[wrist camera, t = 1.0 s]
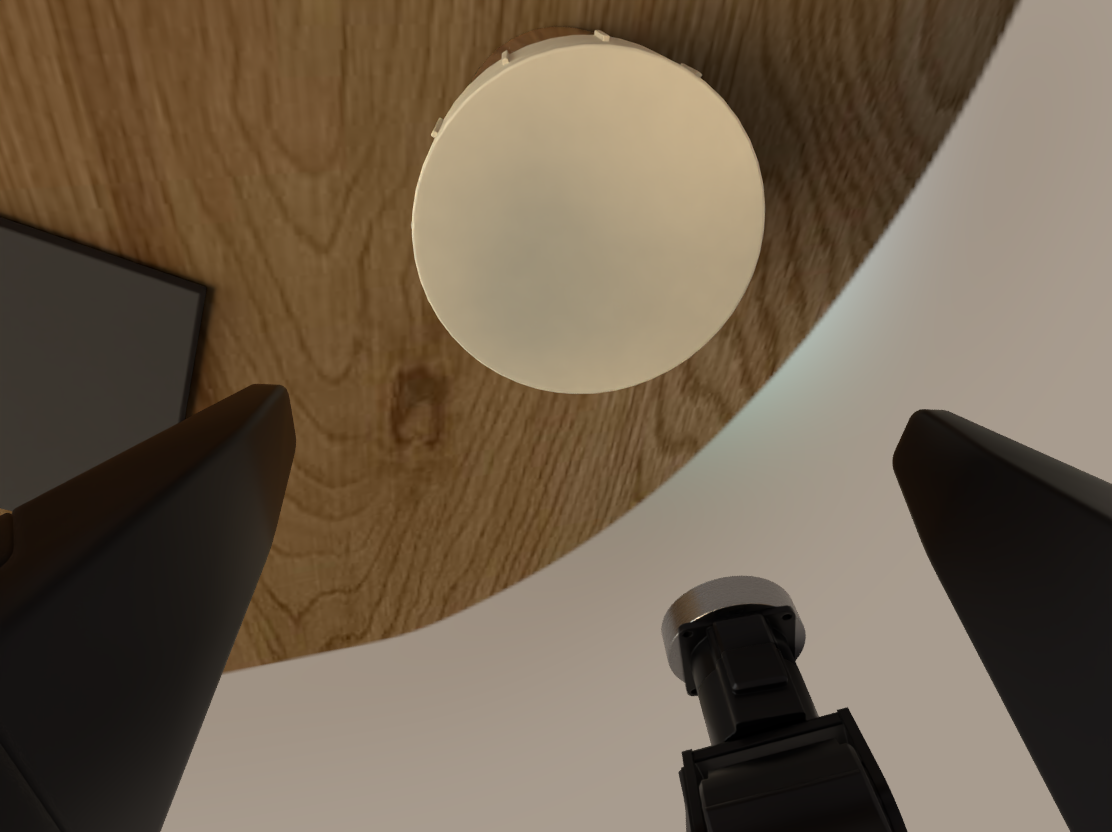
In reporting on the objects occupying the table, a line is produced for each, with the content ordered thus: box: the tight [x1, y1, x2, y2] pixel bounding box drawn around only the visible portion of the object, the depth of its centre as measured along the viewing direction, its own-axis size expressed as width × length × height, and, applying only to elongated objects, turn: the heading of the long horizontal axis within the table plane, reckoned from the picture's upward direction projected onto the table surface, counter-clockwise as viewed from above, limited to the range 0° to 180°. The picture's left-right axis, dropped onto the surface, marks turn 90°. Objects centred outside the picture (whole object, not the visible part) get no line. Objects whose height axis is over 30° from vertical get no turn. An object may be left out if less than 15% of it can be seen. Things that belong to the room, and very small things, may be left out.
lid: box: [411, 30, 765, 394], centre depth 13 cm, size 6×6×2 cm
